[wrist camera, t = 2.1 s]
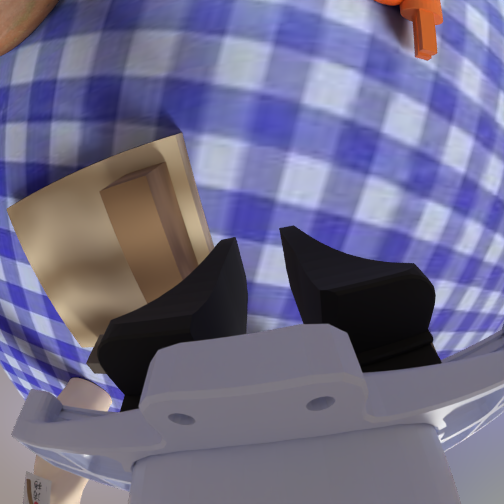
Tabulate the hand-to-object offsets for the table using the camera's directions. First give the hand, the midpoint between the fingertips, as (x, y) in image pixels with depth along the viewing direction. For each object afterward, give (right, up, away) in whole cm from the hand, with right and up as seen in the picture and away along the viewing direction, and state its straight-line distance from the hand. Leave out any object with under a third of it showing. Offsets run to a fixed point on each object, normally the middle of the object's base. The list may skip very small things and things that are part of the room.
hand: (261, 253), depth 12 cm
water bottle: (-26, -21, +21) cm, 40 cm away
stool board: (-12, -1, +11) cm, 16 cm away
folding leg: (-6, 0, +8) cm, 10 cm away
